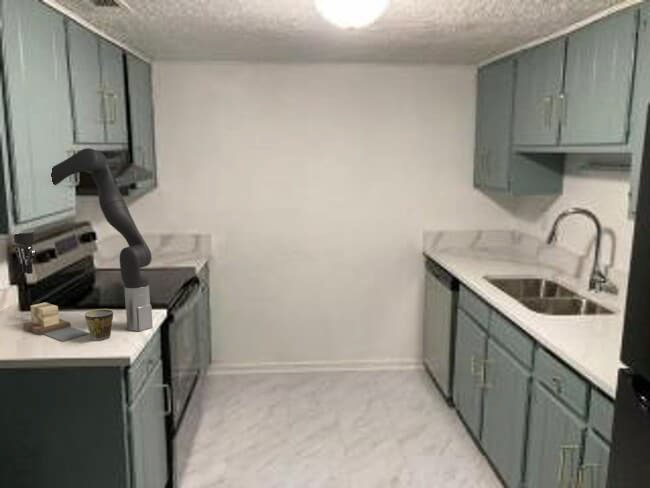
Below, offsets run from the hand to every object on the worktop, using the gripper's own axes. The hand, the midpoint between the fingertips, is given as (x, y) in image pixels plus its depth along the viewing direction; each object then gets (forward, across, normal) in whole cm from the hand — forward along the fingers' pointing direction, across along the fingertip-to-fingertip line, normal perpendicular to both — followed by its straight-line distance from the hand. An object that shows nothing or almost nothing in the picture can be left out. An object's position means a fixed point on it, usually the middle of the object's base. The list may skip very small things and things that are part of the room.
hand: (27, 272), depth 225 cm
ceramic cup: (+21, -42, -5) cm, 47 cm away
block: (+19, -11, 0) cm, 22 cm away
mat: (+21, -26, 0) cm, 33 cm away
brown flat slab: (+21, -12, 0) cm, 24 cm away
